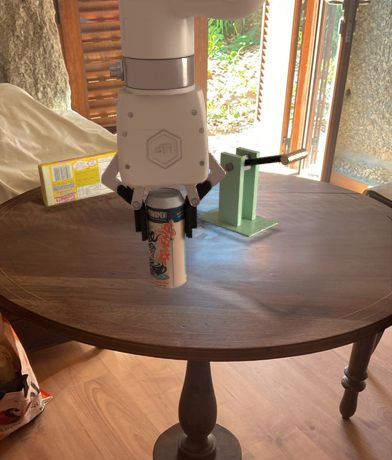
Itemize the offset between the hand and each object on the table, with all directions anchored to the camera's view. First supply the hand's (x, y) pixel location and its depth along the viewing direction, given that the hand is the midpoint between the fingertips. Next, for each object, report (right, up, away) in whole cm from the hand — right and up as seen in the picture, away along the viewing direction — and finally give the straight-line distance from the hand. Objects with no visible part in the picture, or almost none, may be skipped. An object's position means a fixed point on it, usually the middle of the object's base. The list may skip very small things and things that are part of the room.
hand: (166, 233), depth 70 cm
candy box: (-18, +14, +40) cm, 46 cm away
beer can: (0, -6, +4) cm, 7 cm away
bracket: (+11, +8, +30) cm, 33 cm away
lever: (+15, +15, +21) cm, 30 cm away
